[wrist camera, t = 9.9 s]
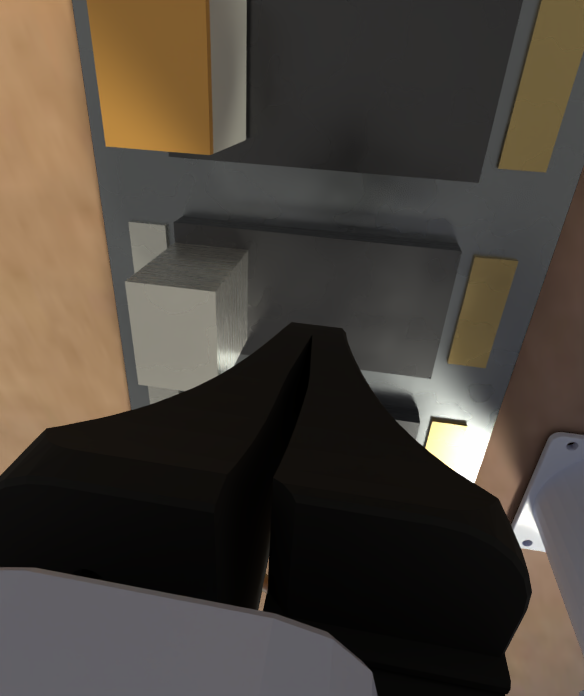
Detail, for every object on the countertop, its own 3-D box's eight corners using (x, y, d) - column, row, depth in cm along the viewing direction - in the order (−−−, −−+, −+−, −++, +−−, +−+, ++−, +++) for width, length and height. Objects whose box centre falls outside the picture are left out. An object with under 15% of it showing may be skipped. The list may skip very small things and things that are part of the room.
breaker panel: (642, -57, 14) (819, -151, 8) (457, 503, 26) (479, 619, 20) (80, -73, 16) (-80, -158, 10) (148, 454, 28) (91, 547, 22)
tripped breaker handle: (246, -5, 14) (204, -33, 11) (246, 140, 16) (210, 155, 13) (151, -9, 14) (81, -38, 11) (162, 133, 16) (106, 146, 13)
